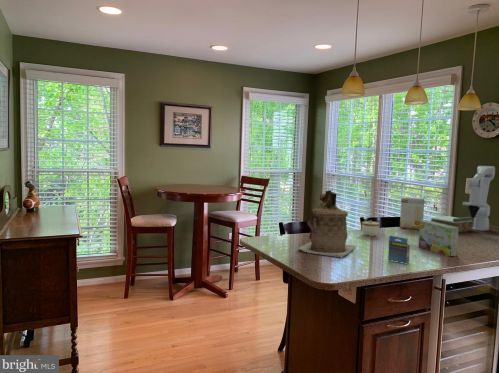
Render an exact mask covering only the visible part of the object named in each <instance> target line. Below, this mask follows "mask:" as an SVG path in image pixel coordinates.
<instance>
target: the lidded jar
mask: <svg viewBox="0 0 499 373" xmlns="http://www.w3.org/2000/svg"><path fill="white" fill-rule="evenodd" d="M360 224H361V232H362V233H363V235H365V236H367V235H369V236H368V237H375V236H376V235H377V234H378V232H379V230H380V222H377V221H372V219H370V220H368V221H361V223H360Z"/></svg>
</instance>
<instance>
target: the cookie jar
mask: <svg viewBox="0 0 499 373" xmlns="http://www.w3.org/2000/svg"><path fill="white" fill-rule="evenodd" d="M319 201H321V203H320V205H317V207H315V208H312V209H311V212H310V218H311V219H310V220H308V221H307V226H309V228H310V232H309V237H308V238H309V240H310V242H306V243H305V244H304V245H301V246H299V247H297V248H296V249H297V250H298V251H302V252H304V253H306V252H307V253H306V254H316V255H321V256H329V257H333V256H334V258H339V257H342V258H343V257H344V256H346V255H348V254H349V253H351V252H353V251H355V250H354V249H356V245H350V244H347V243H346V242H347V239H348V226H347V217H348V215H349V213H348V211H345V210H343V209H340V208H339V207H338V206H337V193H336V192H332V190H325V193H322V194H320V195H319Z"/></svg>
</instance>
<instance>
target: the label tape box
mask: <svg viewBox="0 0 499 373" xmlns="http://www.w3.org/2000/svg"><path fill="white" fill-rule="evenodd" d="M408 240H409V239H408V238H405V237H399V236H393V235H389V238H388V251H387V252H388V255H387V256H388V257H387V261H388V260H393V261H398V262H403V263H408V262H409V263H410V253H411V252H410V251H411V250H410V248H411V245H409V244H408ZM409 263H408V264H409Z"/></svg>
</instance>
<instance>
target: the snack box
mask: <svg viewBox="0 0 499 373" xmlns="http://www.w3.org/2000/svg"><path fill="white" fill-rule="evenodd" d="M458 230H459V228H458V227H454V226H450V225H446V224H441V223H437V222H433V221H431V220H427V219H423V220H421V221H420V227H419V230H418V231H419V232H418V248H420V247H422V248H421V249H423V248H425V249H424V250H426V249H428V250H427V251H429V250H431V251H430V252H432V251H434V252H433V253H435V252H437V253H436V254H438V253H440V254H439V255H441V254H443V255H442V256H444V255H447V256H446V257H448V256H454V257H457V256H458V246H459V245H458V244H459V243H458V242H459V232H458Z"/></svg>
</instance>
